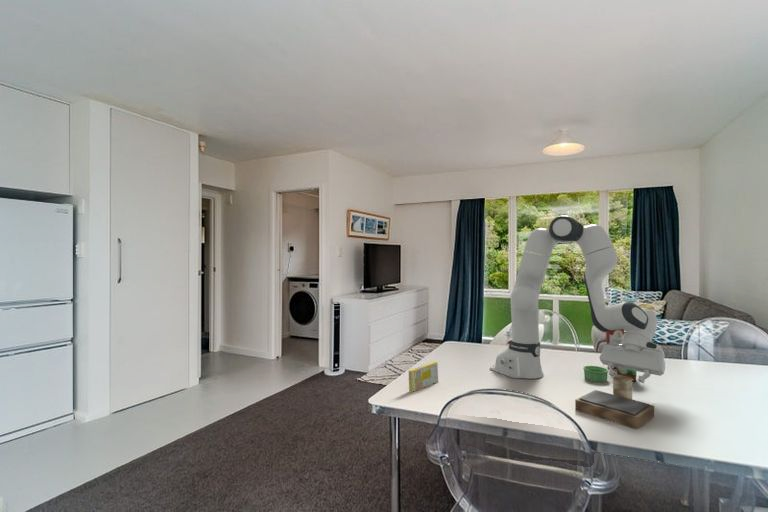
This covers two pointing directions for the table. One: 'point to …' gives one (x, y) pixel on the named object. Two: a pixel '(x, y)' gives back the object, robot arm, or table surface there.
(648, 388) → the table surface
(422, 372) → the candy box
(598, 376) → the ramekin
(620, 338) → the liquor
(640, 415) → the brown flat block
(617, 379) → the tan cylinder
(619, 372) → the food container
